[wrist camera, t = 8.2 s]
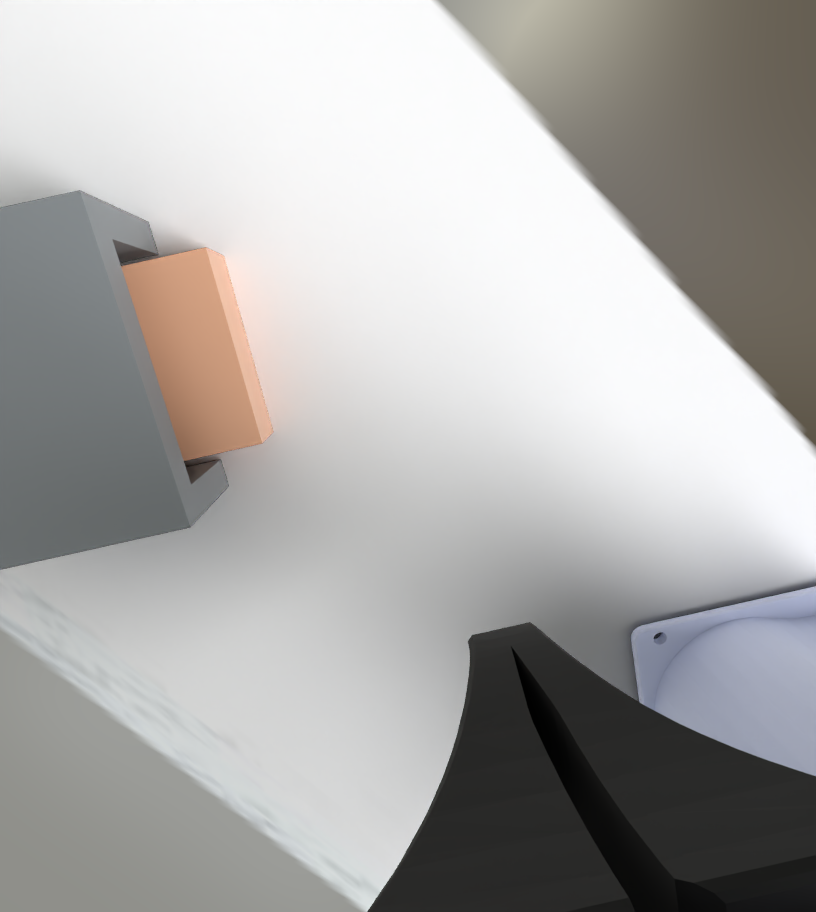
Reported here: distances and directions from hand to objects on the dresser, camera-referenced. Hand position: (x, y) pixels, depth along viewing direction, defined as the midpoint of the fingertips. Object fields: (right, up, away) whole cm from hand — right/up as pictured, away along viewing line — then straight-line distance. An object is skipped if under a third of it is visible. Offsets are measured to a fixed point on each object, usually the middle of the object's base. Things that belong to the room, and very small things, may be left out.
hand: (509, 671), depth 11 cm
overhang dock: (-13, +7, +7) cm, 16 cm away
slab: (-11, +7, +8) cm, 16 cm away
